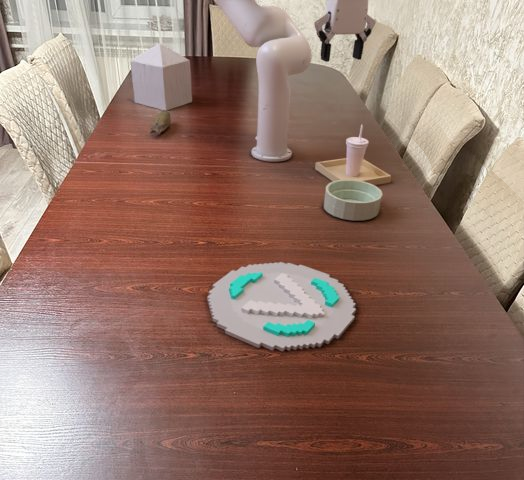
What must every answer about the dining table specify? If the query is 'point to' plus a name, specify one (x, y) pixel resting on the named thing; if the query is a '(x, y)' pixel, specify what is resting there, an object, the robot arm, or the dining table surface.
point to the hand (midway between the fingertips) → (341, 59)
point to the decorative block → (161, 78)
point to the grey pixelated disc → (281, 306)
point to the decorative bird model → (160, 122)
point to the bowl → (352, 199)
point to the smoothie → (355, 153)
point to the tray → (366, 174)
